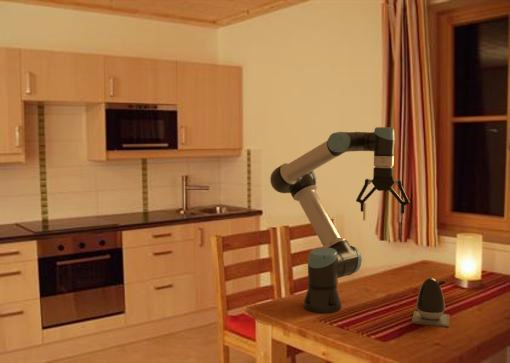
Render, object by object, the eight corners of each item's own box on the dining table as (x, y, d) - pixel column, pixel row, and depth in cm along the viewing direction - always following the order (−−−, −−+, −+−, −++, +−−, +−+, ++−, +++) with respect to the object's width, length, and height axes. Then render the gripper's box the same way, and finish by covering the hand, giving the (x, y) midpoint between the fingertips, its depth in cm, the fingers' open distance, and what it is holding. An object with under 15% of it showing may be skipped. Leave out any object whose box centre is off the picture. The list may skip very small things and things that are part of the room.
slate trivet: (411, 323, 201) (411, 321, 201) (414, 312, 213) (414, 310, 213) (448, 327, 197) (448, 325, 197) (449, 316, 209) (449, 314, 209)
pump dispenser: (447, 323, 199) (448, 282, 198) (417, 321, 201) (418, 281, 200) (443, 314, 209) (444, 275, 208) (415, 312, 211) (415, 274, 210)
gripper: (349, 166, 212) (348, 220, 214) (416, 168, 204) (414, 224, 206) (352, 165, 219) (351, 217, 221) (417, 167, 211) (415, 221, 213)
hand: (381, 221), depth 214 cm, fingers open, 13 cm apart
